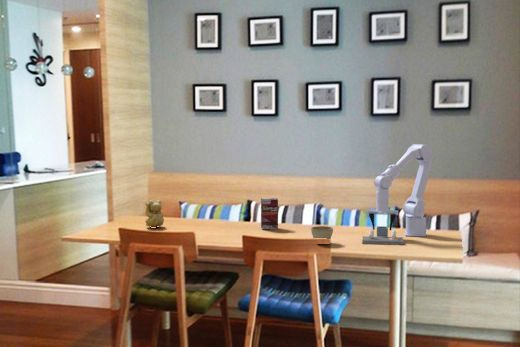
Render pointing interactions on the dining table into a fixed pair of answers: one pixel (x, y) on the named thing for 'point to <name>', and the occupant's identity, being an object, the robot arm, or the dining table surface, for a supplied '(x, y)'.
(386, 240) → the pin board
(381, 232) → the sleeve
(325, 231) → the flower pot
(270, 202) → the supplement box
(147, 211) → the decorative figurine
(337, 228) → the dining table surface
